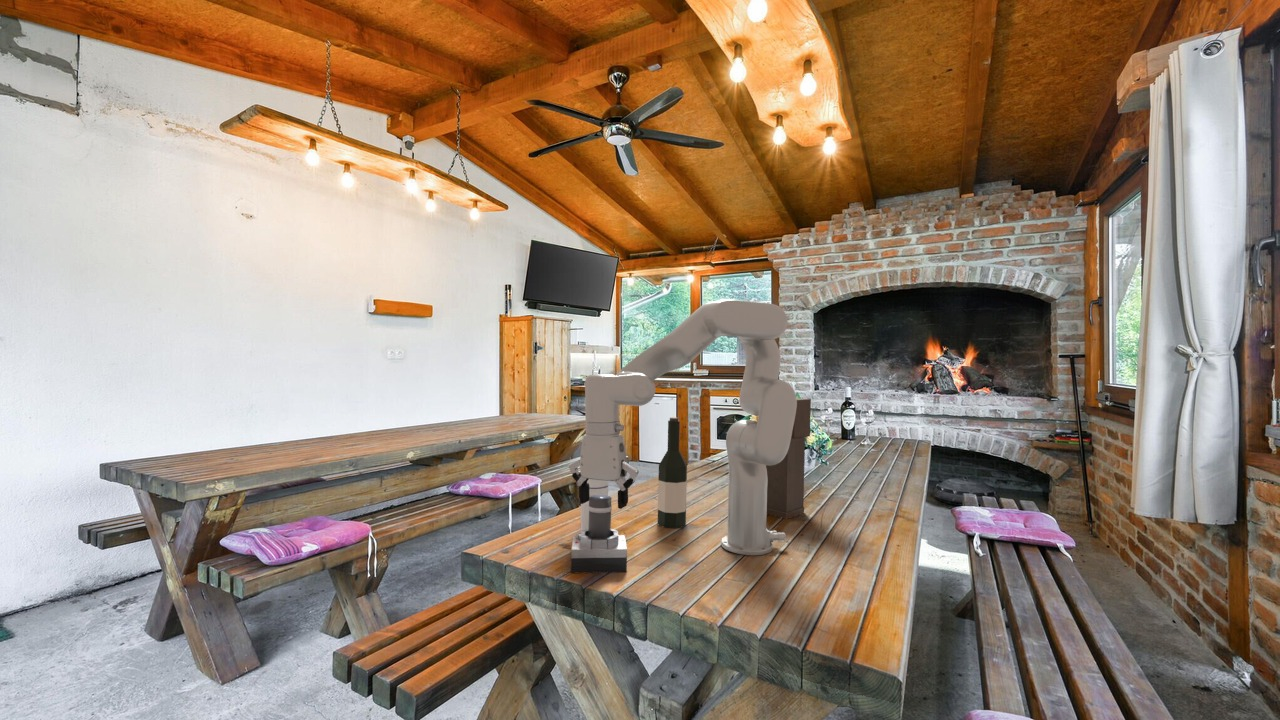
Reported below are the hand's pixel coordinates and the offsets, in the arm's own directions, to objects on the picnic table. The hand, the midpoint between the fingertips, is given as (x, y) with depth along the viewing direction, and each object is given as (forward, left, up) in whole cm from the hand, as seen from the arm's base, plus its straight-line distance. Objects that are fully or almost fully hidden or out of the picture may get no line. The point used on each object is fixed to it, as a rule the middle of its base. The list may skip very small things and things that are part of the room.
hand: (603, 504), depth 119 cm
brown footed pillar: (-54, -43, -14) cm, 70 cm away
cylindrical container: (+2, -22, -14) cm, 26 cm away
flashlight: (+1, 0, -8) cm, 8 cm away
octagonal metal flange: (+1, 0, -13) cm, 13 cm away
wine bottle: (-20, -29, -14) cm, 38 cm away
